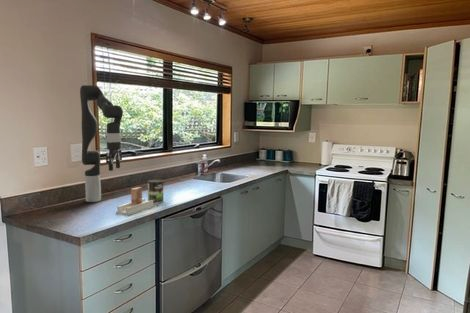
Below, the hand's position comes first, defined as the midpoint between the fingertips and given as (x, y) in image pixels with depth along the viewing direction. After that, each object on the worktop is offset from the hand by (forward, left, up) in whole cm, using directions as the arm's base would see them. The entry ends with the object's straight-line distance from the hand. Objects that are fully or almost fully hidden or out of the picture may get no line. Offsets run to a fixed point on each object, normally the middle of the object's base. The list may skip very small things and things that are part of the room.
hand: (114, 169), depth 196 cm
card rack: (-10, +8, -26) cm, 29 cm away
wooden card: (-11, +8, -25) cm, 28 cm away
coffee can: (-30, +13, -26) cm, 42 cm away
